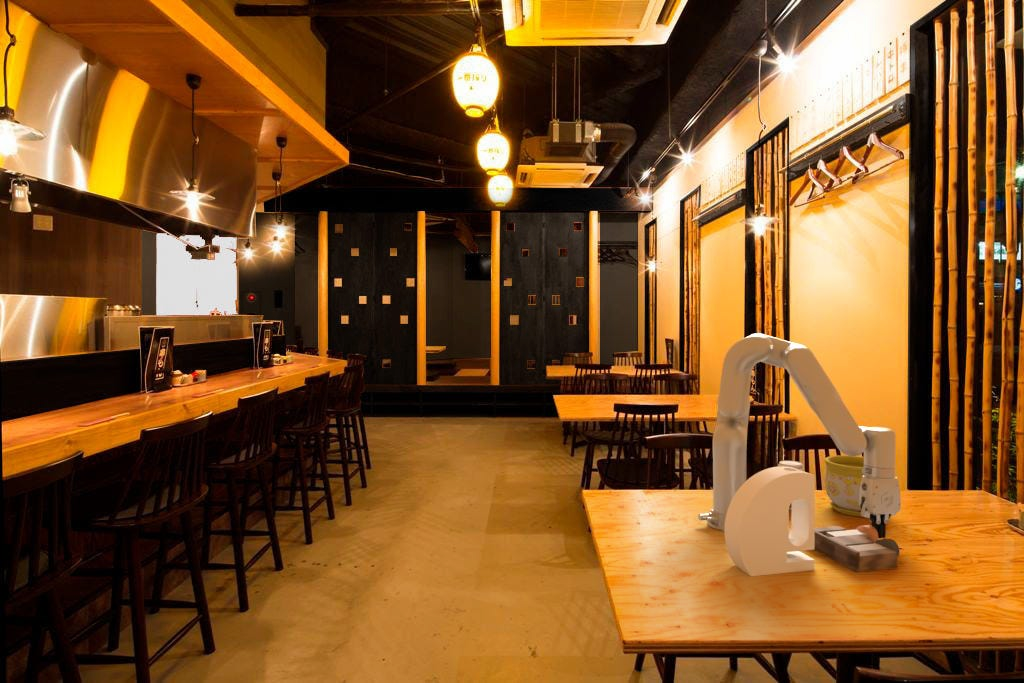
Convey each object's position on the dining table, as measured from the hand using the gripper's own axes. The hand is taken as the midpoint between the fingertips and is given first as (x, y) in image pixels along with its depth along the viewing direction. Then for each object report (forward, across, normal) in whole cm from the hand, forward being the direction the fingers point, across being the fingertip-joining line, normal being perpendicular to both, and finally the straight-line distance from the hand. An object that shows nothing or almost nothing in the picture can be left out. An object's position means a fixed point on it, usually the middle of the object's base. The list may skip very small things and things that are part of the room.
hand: (878, 536), depth 165 cm
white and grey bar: (+2, -12, -10) cm, 16 cm away
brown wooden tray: (+2, -15, -5) cm, 16 cm away
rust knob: (+2, -9, 0) cm, 9 cm away
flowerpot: (+2, +16, +26) cm, 30 cm away
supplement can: (+2, -2, +34) cm, 34 cm away
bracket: (+2, -40, -8) cm, 41 cm away
